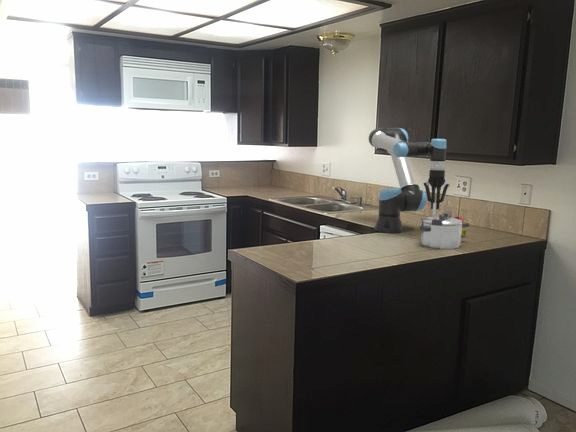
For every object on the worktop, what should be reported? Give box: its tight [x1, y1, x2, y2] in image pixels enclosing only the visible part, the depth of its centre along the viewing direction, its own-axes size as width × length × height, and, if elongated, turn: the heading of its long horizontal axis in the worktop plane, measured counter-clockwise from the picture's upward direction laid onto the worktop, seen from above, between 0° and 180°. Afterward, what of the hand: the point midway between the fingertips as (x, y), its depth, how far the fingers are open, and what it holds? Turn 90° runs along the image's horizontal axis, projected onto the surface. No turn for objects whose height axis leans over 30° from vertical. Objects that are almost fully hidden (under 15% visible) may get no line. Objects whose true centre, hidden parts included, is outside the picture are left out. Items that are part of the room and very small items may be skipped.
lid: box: [421, 210, 462, 226], centre depth 244 cm, size 31×19×3 cm, turn 152°
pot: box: [418, 221, 470, 250], centre depth 244 cm, size 18×29×11 cm, turn 117°
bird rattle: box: [454, 216, 468, 237], centre depth 264 cm, size 6×11×9 cm
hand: (434, 215), depth 256 cm, fingers closed
